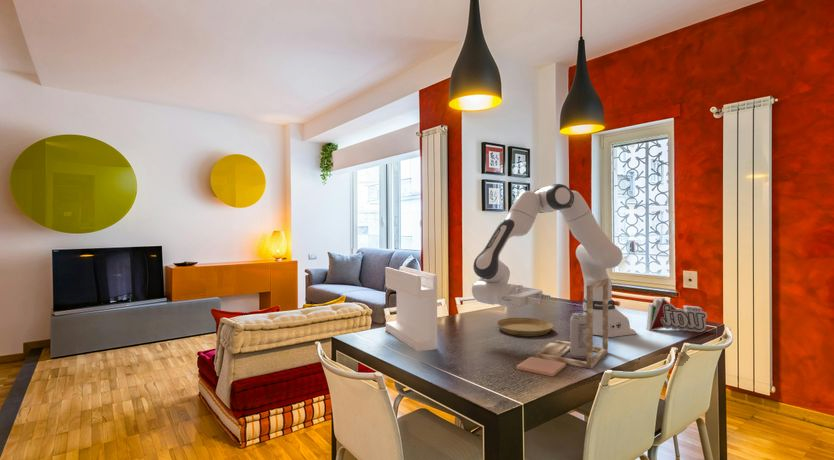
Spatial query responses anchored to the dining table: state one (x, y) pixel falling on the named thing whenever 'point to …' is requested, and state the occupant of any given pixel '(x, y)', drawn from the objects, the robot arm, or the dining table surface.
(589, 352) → the birch rack
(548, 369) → the terracotta tile
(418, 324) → the block
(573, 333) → the energy drink can
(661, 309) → the decorative sign
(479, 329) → the dining table surface
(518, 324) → the plant saucer
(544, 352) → the beige rectangular tray
